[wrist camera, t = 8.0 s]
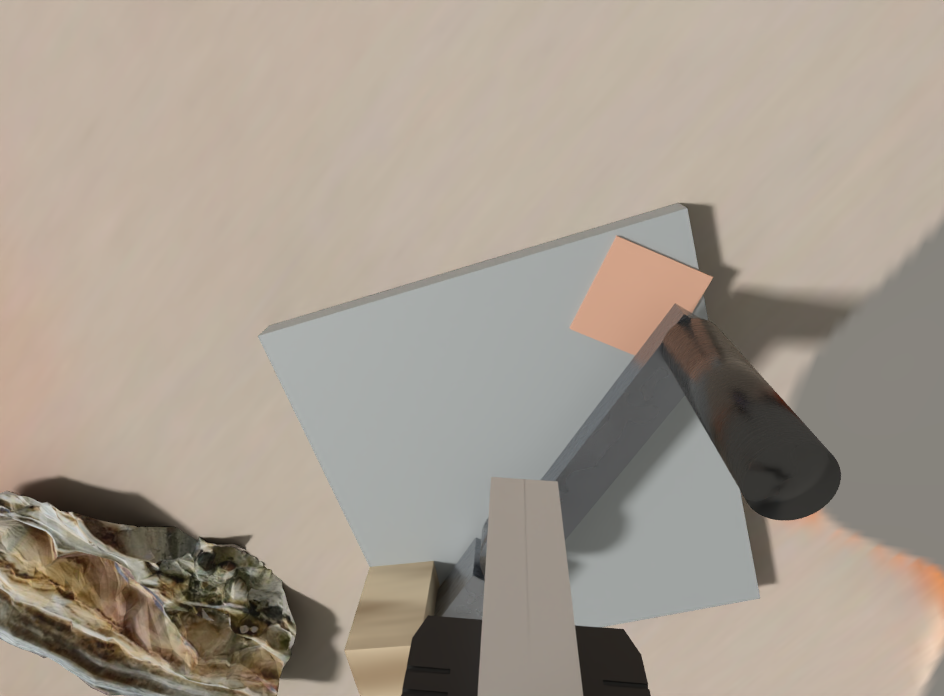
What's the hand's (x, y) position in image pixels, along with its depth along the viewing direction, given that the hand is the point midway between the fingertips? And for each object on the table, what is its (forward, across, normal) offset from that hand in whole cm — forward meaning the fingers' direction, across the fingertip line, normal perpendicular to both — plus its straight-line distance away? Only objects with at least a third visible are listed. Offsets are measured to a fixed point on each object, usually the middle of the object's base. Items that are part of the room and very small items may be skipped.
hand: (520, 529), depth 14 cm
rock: (+19, -24, -21) cm, 37 cm away
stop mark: (+17, +6, 0) cm, 18 cm away
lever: (+16, +3, -9) cm, 19 cm away
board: (+19, +1, -10) cm, 21 cm away
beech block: (+17, -6, -19) cm, 26 cm away
